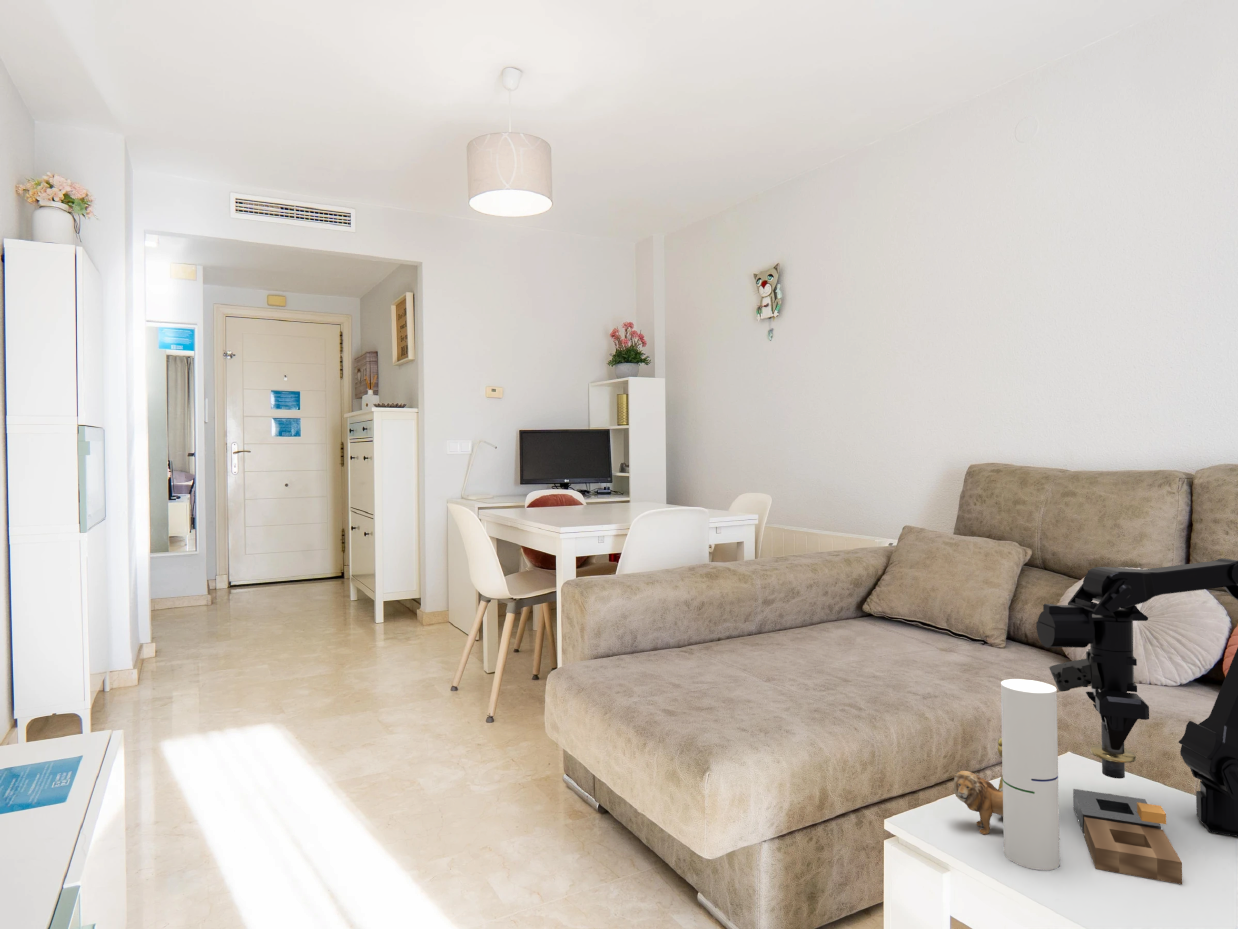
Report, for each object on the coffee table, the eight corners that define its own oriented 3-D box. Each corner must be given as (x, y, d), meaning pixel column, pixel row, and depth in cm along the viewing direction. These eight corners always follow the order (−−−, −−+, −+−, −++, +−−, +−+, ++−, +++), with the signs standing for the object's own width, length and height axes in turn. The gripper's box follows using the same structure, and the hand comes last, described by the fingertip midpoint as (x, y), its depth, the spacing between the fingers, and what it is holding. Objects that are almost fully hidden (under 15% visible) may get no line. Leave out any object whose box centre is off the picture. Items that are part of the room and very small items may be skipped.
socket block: (1145, 817, 119) (1145, 799, 119) (1161, 846, 110) (1160, 826, 110) (1073, 806, 123) (1073, 788, 123) (1083, 833, 114) (1082, 814, 114)
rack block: (1163, 849, 109) (1162, 829, 109) (1182, 884, 100) (1181, 862, 100) (1084, 836, 113) (1083, 817, 113) (1095, 868, 104) (1095, 847, 104)
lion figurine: (954, 834, 114) (953, 776, 114) (952, 819, 119) (951, 763, 119) (1063, 851, 109) (1061, 790, 109) (1056, 834, 114) (1055, 776, 114)
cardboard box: (1161, 815, 111) (1160, 805, 111) (1166, 824, 108) (1166, 814, 108) (1137, 812, 112) (1137, 802, 112) (1141, 820, 109) (1141, 810, 109)
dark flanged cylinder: (1131, 770, 118) (1131, 720, 118) (1140, 785, 112) (1139, 733, 112) (1088, 764, 120) (1087, 716, 120) (1094, 778, 115) (1093, 727, 115)
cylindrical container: (1068, 872, 103) (1064, 694, 103) (1012, 867, 104) (1009, 691, 105) (1048, 847, 110) (1045, 680, 110) (997, 842, 111) (994, 678, 112)
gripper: (1046, 631, 128) (1047, 721, 128) (1060, 656, 111) (1062, 759, 111) (1122, 637, 124) (1123, 729, 124) (1149, 663, 107) (1151, 771, 107)
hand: (1113, 746), depth 116 cm, fingers closed on dark flanged cylinder, 3 cm apart
